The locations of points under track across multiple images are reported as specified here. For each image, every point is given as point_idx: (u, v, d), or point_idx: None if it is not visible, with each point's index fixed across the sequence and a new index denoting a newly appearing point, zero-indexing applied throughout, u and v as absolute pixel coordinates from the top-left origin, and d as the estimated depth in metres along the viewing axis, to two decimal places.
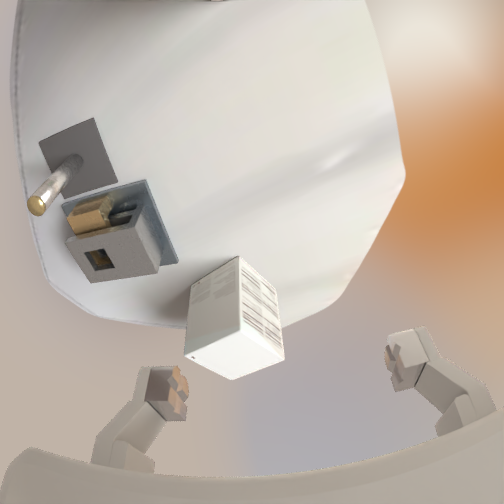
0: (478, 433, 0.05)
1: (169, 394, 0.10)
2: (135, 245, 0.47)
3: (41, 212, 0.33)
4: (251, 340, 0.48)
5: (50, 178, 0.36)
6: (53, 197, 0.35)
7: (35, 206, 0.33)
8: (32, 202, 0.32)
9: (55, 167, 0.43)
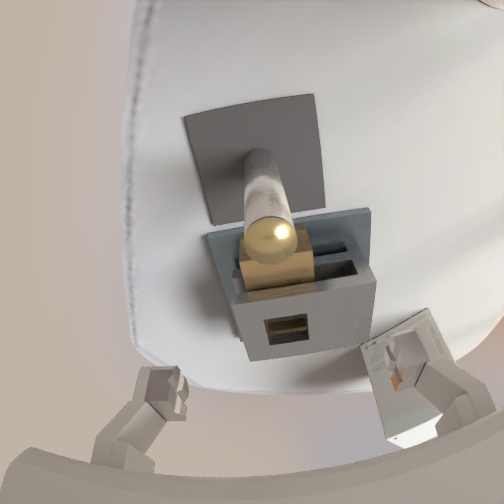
0: (478, 433, 0.05)
1: (169, 394, 0.10)
2: (362, 307, 0.30)
3: (282, 257, 0.18)
4: None
5: (269, 183, 0.21)
6: None
7: (271, 242, 0.17)
8: (267, 232, 0.17)
9: (211, 167, 0.29)
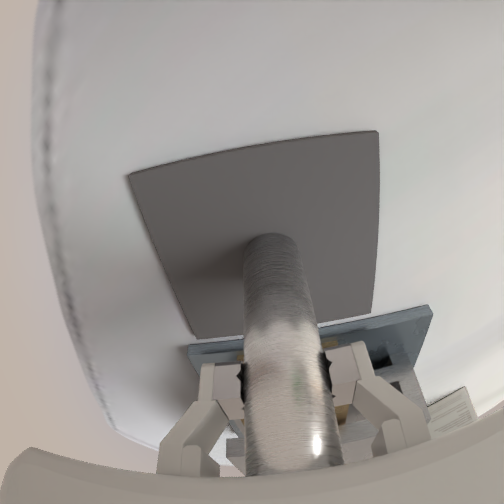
0: (478, 433, 0.05)
1: (240, 390, 0.09)
2: None
3: None
4: None
5: (300, 388, 0.08)
6: None
7: None
8: None
9: (185, 263, 0.17)
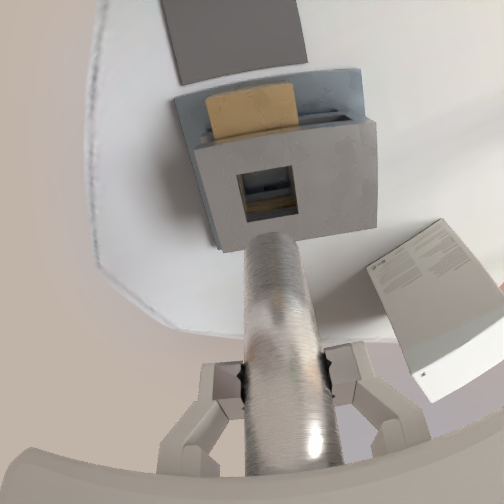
0: (478, 433, 0.05)
1: (240, 390, 0.09)
2: (363, 163, 0.23)
3: None
4: None
5: (300, 386, 0.08)
6: None
7: None
8: None
9: (181, 22, 0.21)
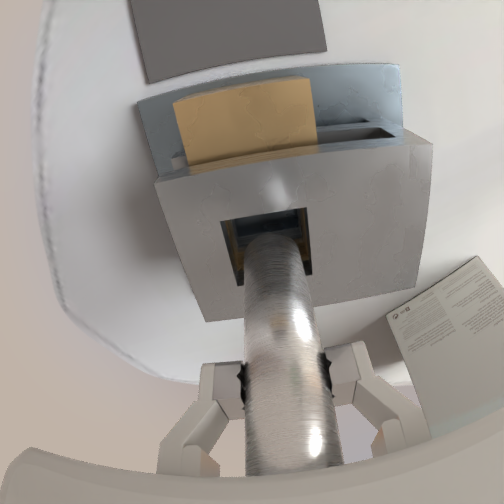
0: (478, 433, 0.05)
1: (240, 390, 0.09)
2: (409, 203, 0.15)
3: None
4: None
5: (300, 387, 0.09)
6: None
7: None
8: None
9: None
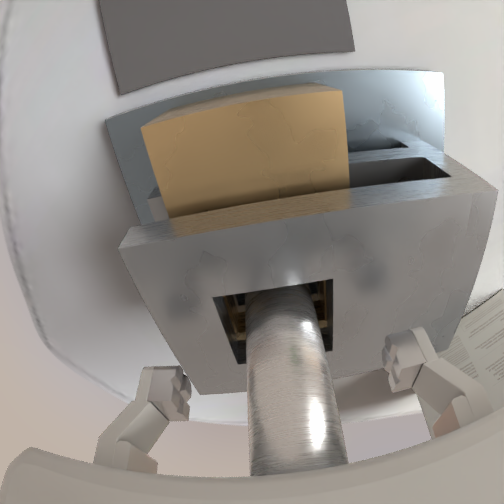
0: (478, 433, 0.05)
1: (172, 394, 0.10)
2: (461, 265, 0.11)
3: None
4: None
5: (298, 351, 0.10)
6: None
7: None
8: None
9: None
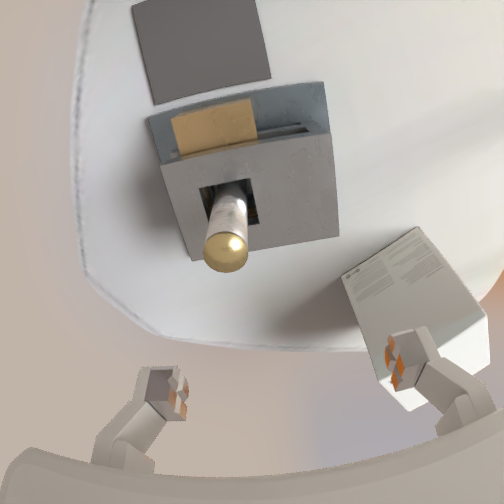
0: (478, 433, 0.05)
1: (169, 394, 0.10)
2: (320, 173, 0.25)
3: (236, 266, 0.21)
4: (485, 333, 0.24)
5: (230, 201, 0.24)
6: None
7: (225, 253, 0.20)
8: (220, 245, 0.20)
9: (153, 45, 0.24)
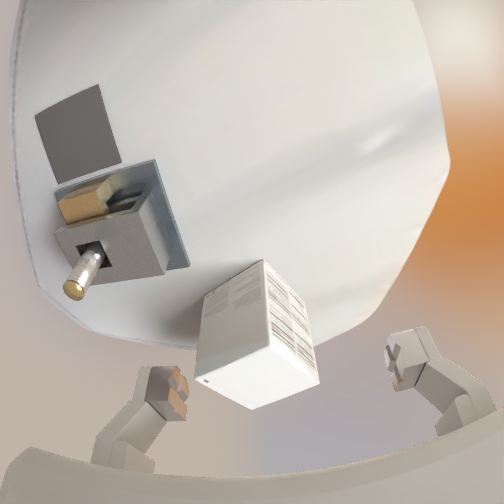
0: (478, 433, 0.05)
1: (169, 394, 0.10)
2: (138, 236, 0.37)
3: (80, 297, 0.34)
4: (281, 358, 0.37)
5: (85, 257, 0.36)
6: (91, 280, 0.36)
7: (73, 291, 0.33)
8: (69, 287, 0.33)
9: (50, 144, 0.36)
